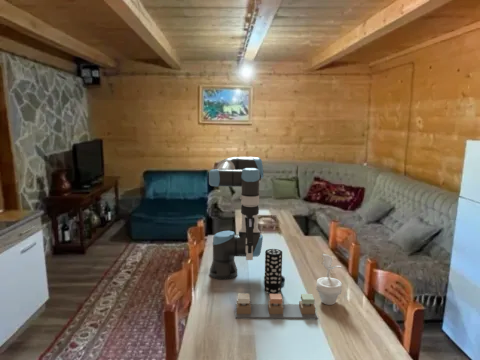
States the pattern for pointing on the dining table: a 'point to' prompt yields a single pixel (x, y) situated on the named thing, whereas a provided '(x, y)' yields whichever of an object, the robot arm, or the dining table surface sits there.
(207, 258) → the dining table surface
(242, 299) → the button cream
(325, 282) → the potted plant
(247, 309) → the button board
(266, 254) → the spotted tube
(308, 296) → the button sage
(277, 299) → the orange cube
